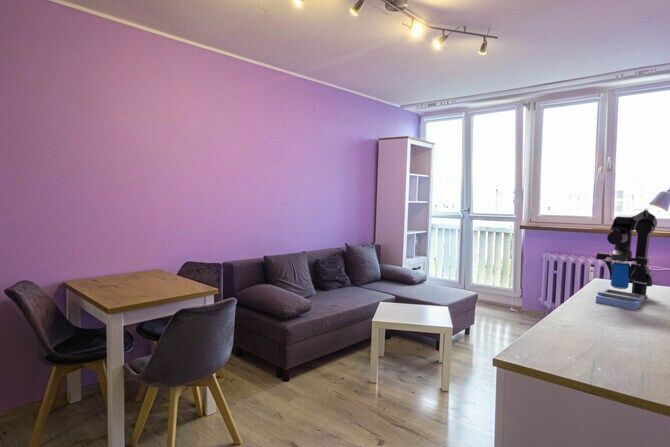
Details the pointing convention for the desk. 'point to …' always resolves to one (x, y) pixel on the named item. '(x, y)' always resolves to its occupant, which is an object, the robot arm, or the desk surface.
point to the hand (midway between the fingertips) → (620, 277)
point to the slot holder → (620, 298)
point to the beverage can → (620, 275)
